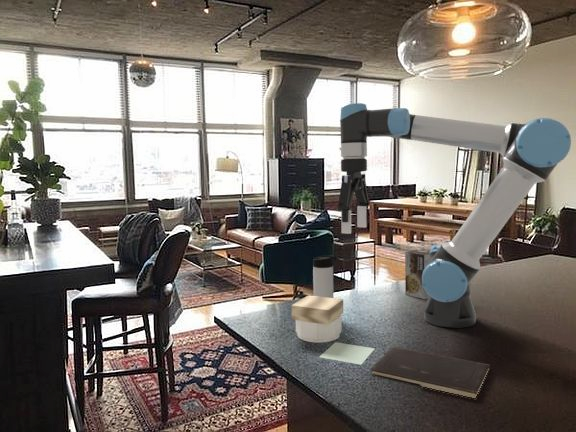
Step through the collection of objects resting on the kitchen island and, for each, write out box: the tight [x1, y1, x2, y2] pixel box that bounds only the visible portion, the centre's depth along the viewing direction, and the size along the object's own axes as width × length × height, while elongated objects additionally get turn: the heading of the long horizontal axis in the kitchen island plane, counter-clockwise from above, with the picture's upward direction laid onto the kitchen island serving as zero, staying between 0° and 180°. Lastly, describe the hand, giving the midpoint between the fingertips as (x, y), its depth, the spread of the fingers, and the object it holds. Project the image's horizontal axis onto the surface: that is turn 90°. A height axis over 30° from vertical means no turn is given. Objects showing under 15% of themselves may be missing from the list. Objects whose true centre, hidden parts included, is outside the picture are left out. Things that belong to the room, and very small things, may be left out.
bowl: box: [295, 314, 342, 344], centre depth 135 cm, size 12×12×6 cm
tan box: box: [290, 295, 344, 325], centre depth 134 cm, size 11×11×4 cm
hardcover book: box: [369, 346, 491, 399], centre depth 110 cm, size 16×23×2 cm
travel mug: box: [312, 254, 335, 298], centre depth 150 cm, size 6×7×20 cm
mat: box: [319, 341, 376, 366], centre depth 122 cm, size 11×11×1 cm
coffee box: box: [404, 249, 430, 300], centre depth 173 cm, size 9×6×16 cm
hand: (354, 230), depth 142 cm, fingers open, 13 cm apart
